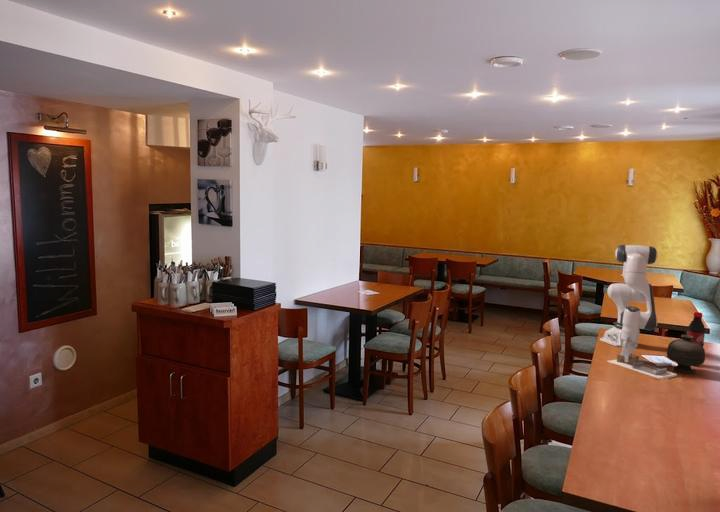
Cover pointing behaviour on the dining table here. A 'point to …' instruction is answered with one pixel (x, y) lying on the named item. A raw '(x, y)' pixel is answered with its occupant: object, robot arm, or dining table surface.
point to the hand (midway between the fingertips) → (627, 360)
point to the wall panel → (647, 369)
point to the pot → (685, 354)
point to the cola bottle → (697, 329)
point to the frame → (631, 359)
